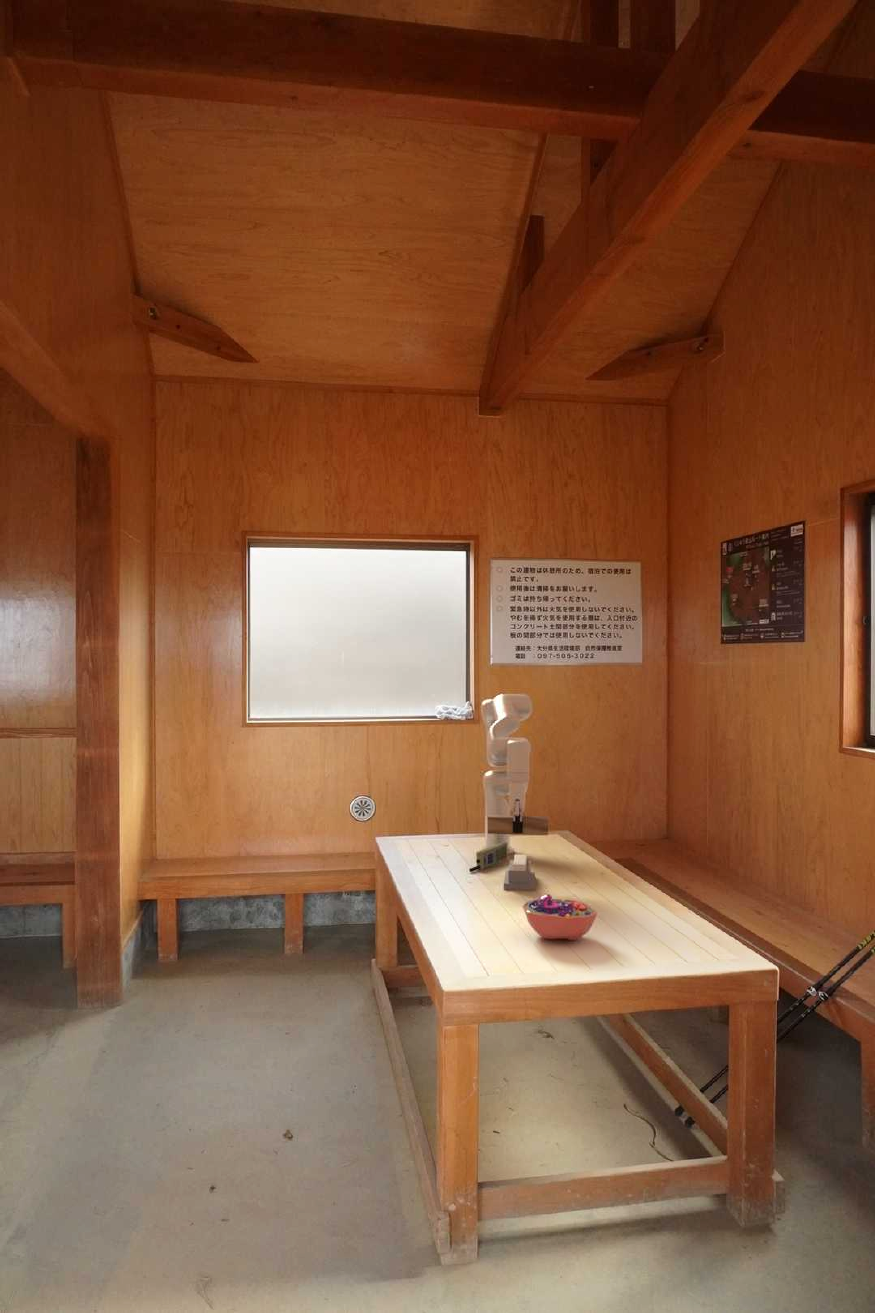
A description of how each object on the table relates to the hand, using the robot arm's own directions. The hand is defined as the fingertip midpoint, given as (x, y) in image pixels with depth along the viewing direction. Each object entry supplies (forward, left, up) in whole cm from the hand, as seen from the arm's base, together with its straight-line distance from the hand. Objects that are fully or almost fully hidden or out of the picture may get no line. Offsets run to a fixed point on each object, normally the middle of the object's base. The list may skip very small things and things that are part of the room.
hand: (517, 831), depth 276 cm
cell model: (+53, +13, -18) cm, 57 cm away
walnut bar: (0, 0, -1) cm, 1 cm away
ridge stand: (0, +1, -17) cm, 17 cm away
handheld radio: (-22, -11, -18) cm, 31 cm away
